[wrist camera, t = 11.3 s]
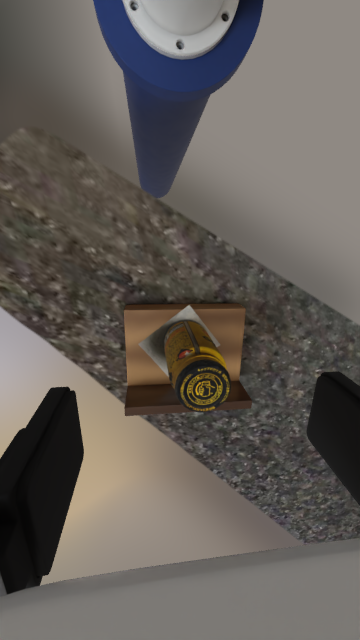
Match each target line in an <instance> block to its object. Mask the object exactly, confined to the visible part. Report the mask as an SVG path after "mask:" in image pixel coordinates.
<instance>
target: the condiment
mask: <svg viewBox="0 0 360 640" xmlns="http://www.w3.org/2000/svg"><path fill="white" fill-rule="evenodd" d="M138 345H139V346H140V347H141V348H142V349H143V350H144V351H145V352H146V353H147V354H148V355H149V356H150V357H151V358H152V359H153V360H154V362H155V363H156V364H157V365H158V366H159V367H160V368H161V369H162V370H163V372H164V373H165V374H166V375H167V376H168V377H169V380H170V383H171V385H172V387H173V388H174V390H175V392H176V396H177V399H178V400H179V401H180V403H181V404H182V405H183V406H184V407H185V408H187V409H189V410H191V411H195V412H206V411H211V410H214V409H216V408H217V407H219V406H220V405H221V404H223V403H224V402H225V401H226V399H227V397H228V395H229V394H230V391H231V379H230V375H229V373H228V371H227V367H226V363H225V361H224V358H223V357H222V355H221V353H220V352H219V350H218V349H217V347H218V346H220V343H219V342H218V341H217V340H216V338H215V337H214V336H213V334H212V333H211V332H210V331H209V329H208V328H207V327H206V325H205V324H204V323H203V322H202V320H201V319H200V318H199V316H198V315H197V314H196V313H195V311H194V310H193V309H192V307H191V306H190V305H188V306H187V307H186V308H184V309H183V310H182V311H180V312H179V313H178V314H176V315H175V316H174V317H172V318H171V319H170V320H169V321H167V322H166V323H165V324H164V325H162V326H161V327H160V328H159V329H157V330H156V331H155V332H153V333H152V334H151V335H149V336H148V337H147V338H146V339H144V340H143V341H142V342H140V343H139V344H138Z"/></svg>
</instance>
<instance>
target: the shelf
mask: <svg viewBox="0 0 360 640" xmlns="http://www.w3.org/2000/svg"><path fill="white" fill-rule="evenodd" d="M188 305H190V306H191V307H192V309H193V310H194V311H195V313H196V314H197V315H198V316H199V318H200V319H201V320H202V322H203V323H204V324H205V325H206V327H207V328H208V329H209V331H210V332H211V333H212V334H213V336H214V337H215V338H216V340H217V341H218V342H219V343H220V346H218V347H217V349H218V350H219V352H220V353H221V355H222V357H223V358H224V361H225V363H226V367H227V371H228V373H229V375H230V379H231V391H230V394H229V395H228V397H227V399H226V401H225V402H224V403H223V404H221V405H220V406H219V407H217V408H216V409H214V410H211V411H215V410H232V409H248V408H251V405H252V400H251V398H250V397H249V395H248V394H247V392H246V391H245V389H244V387H243V386H242V384H241V383H240V381H239V376H240V365H241V355H242V344H243V333H244V323H245V312H246V308H244V307H243V306H241V305H240V304H238V303H232V304H146V305H126V306H125V309H124V321H125V341H126V361H127V382H128V388H127V395H126V402H125V416H133V415H150V414H166V413H183V412H195V411H191V410H189V409H187V408H185V407H184V406H183V405H182V404H181V403H180V401H179V400H178V399H177V396H176V392H175V390H174V388H173V387H172V385H171V383H170V380H169V377H168V376H167V375H166V374H165V373H164V372H163V370H162V369H161V368H160V367H159V366H158V365H157V364H156V363H155V362H154V360H153V359H152V358H151V357H150V356H149V355H148V354H147V353H146V352H145V351H144V350H143V349H142V348H141V347H140V346H139V345H138V344H139V343H140V342H142V341H143V340H144V339H146V338H147V337H148V336H149V335H151V334H152V333H153V332H155V331H156V330H157V329H159V328H160V327H161V326H162V325H164V324H165V323H166V322H167V321H169V320H170V319H171V318H172V317H174V316H175V315H176V314H178V313H179V312H180V311H182V310H183V309H184V308H186V307H187V306H188Z"/></svg>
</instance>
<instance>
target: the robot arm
mask: <svg viewBox="0 0 360 640" xmlns="http://www.w3.org/2000/svg"><path fill="white" fill-rule="evenodd" d="M122 1H123V4H124V7H125V10H126V13H127V15H128V17H129V19H130V21H131V23H132V25H133V27H134V28H135V30H136V31H137V33H138V34H139V35H140V37H141V38H142V39H143V40H144V41H145V42H146V43H147V44H148V45H149V46H150V47H151V48H153V49H154V50H156V51H157V52H159V53H160V54H162V55H165V56H167V57H170V58H174V59H180V60H185V59H194V58H197V57H200V56H203V55H204V54H206V53H207V52H209V51H211V50H212V49H213V48H214V47H215V46H216V45H217V44H218V43H219V42H220V41H221V40H222V39H223V37H224V36H225V34H226V33H227V31H228V29H229V27H230V25H231V23H232V21H233V18H234V15H235V12H236V10H237V7H238V2H239V0H122ZM133 10H136V11H133ZM178 48H181V50H179V49H178ZM307 436H308V439H309V440H310V442H311V443H312V444H313V446H314V447H315V448H316V450H317V451H318V452H319V454H320V455H321V456H322V457H323V459H324V460H325V461H326V463H327V464H328V465H329V466H330V468H331V469H332V470H333V472H334V473H335V474H336V476H337V477H338V478H339V479H340V481H341V482H342V483H343V485H344V486H345V487H346V488H347V490H348V491H349V492H350V494H351V495H352V496H353V497H354V499H355V500H356V501H357V503H358V504H359V505H360V386H359V385H357V384H356V383H354V382H353V381H352V380H350V379H349V378H348V377H346V376H345V375H343V374H342V373H340V372H324V373H322V374H321V376H319V377H318V379H317V383H316V387H315V392H314V397H313V402H312V407H311V412H310V417H309V422H308V427H307ZM83 454H84V449H83V442H82V435H81V428H80V421H79V414H78V407H77V401H76V394H75V391H70V388H69V387H56V388H51V389H50V390H49V391H48V393H47V395H46V396H45V398H44V399H43V401H42V403H41V404H40V406H39V407H38V409H37V410H36V412H35V414H34V415H33V417H32V418H31V420H30V421H29V423H28V425H27V426H26V428H23V429H21V430H19V432H18V433H17V434H16V436H15V437H14V439H13V440H12V442H11V443H10V445H9V446H8V448H7V449H6V451H5V452H4V454H3V455H2V457H1V459H0V640H360V538H355V539H348V540H340V541H333V542H325V543H318V544H310V545H303V546H296V547H288V548H281V549H273V550H266V551H259V552H252V553H245V554H237V555H230V556H223V557H216V558H209V559H202V560H195V561H188V562H181V563H173V564H167V565H159V566H152V567H145V568H138V569H131V570H126V571H119V572H114V573H107V574H101V575H94V576H89V577H82V578H77V579H70V580H64V581H59V582H55V583H50V584H46V585H41V586H40V583H41V580H42V576H45V575H48V574H49V572H50V570H51V567H52V564H53V561H54V557H55V554H56V551H57V547H58V544H59V540H60V537H61V533H62V530H63V526H64V523H65V519H66V516H67V513H68V509H69V506H70V502H71V499H72V495H73V491H74V488H75V485H76V482H77V478H78V475H79V471H80V468H81V464H82V461H83Z"/></svg>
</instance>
